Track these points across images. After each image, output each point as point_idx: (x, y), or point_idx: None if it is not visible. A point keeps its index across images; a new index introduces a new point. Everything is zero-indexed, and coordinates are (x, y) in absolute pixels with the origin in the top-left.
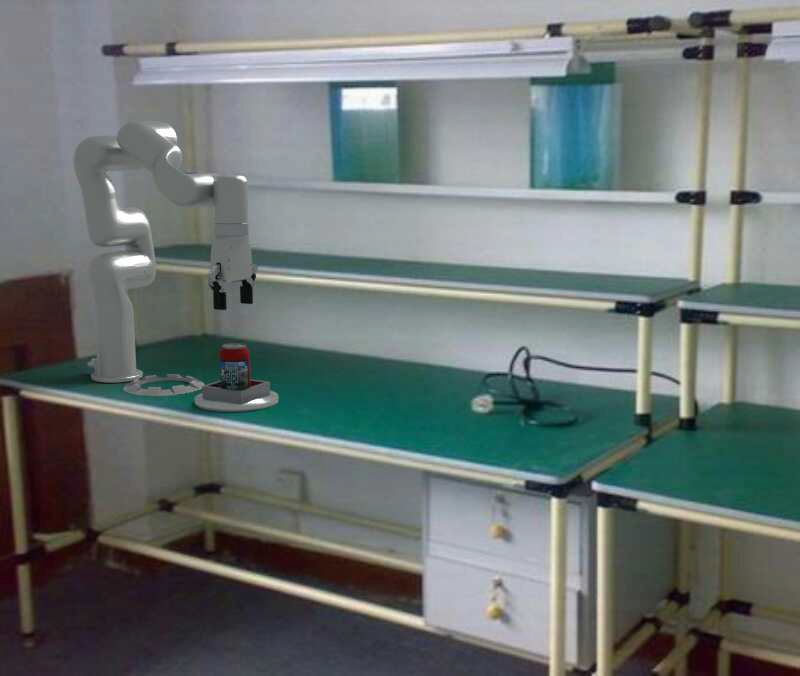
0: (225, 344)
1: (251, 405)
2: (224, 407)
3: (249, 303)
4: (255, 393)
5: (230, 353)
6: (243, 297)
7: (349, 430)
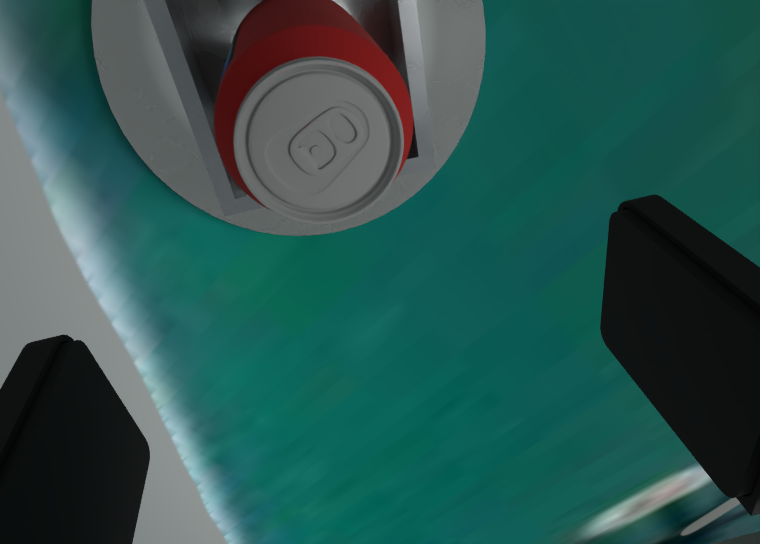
0: (301, 66)
1: (250, 227)
2: (152, 168)
3: (600, 326)
4: None
5: (240, 187)
6: (650, 295)
7: (303, 502)
